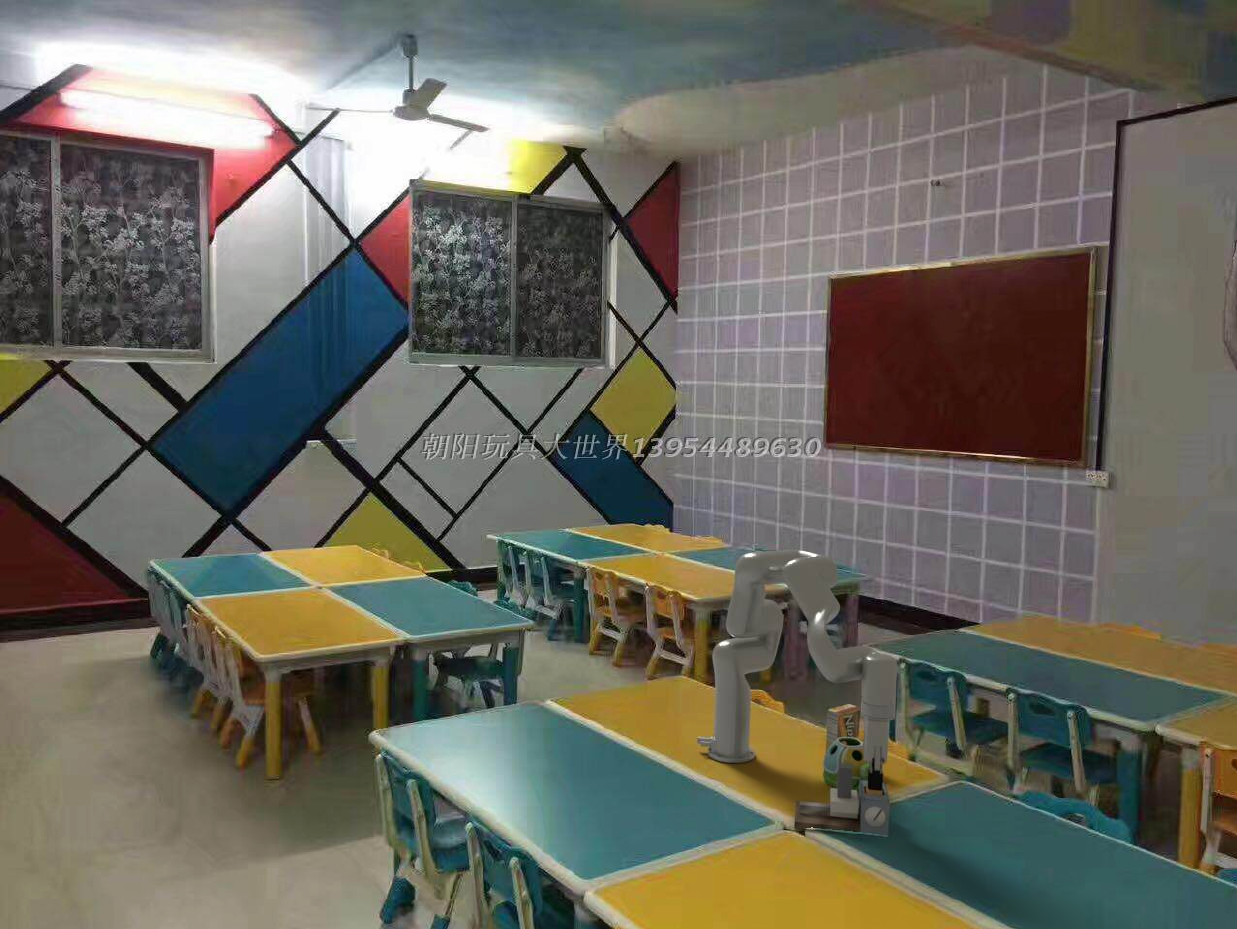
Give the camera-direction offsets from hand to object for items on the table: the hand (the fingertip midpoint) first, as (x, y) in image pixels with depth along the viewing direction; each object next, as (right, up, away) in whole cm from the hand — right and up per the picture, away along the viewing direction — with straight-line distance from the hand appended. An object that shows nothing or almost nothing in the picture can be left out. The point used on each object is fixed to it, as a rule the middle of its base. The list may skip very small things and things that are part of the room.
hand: (874, 788), depth 235 cm
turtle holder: (-1, -7, +21) cm, 22 cm away
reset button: (0, -4, 0) cm, 4 cm away
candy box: (+1, -6, +38) cm, 39 cm away
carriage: (-7, -6, +2) cm, 9 cm away
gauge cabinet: (0, -8, +1) cm, 9 cm away
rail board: (-10, -8, +3) cm, 13 cm away
